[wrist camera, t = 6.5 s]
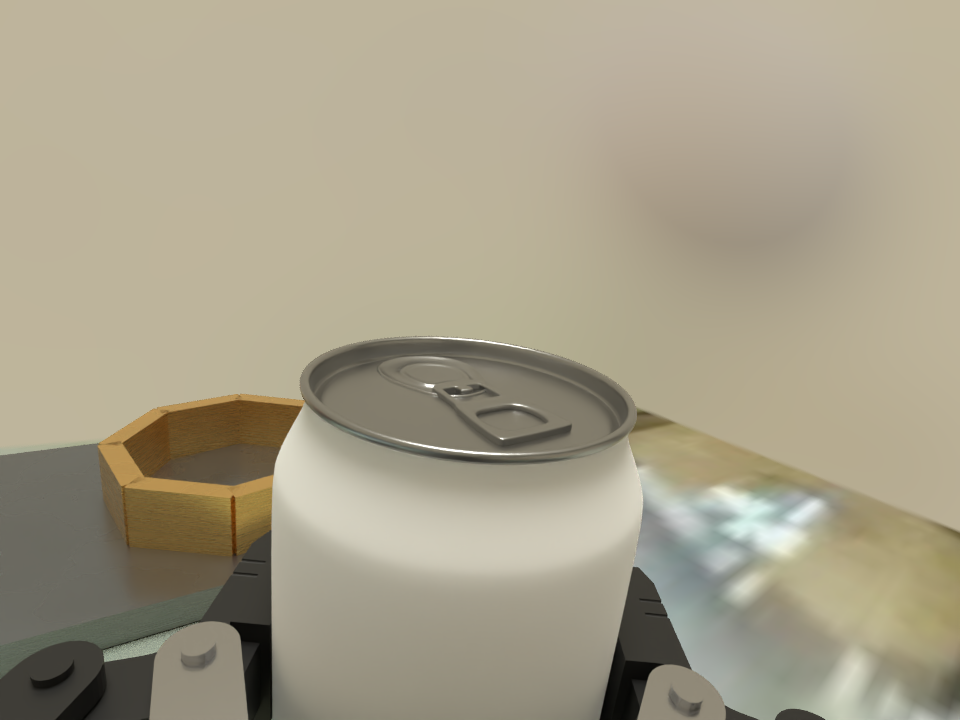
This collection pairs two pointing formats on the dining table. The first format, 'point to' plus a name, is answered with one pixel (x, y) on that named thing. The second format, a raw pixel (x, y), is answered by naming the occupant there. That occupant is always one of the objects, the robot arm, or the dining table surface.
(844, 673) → the dining table surface
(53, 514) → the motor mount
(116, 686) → the robot arm
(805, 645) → the dining table surface
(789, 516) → the dining table surface
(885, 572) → the dining table surface
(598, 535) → the can
